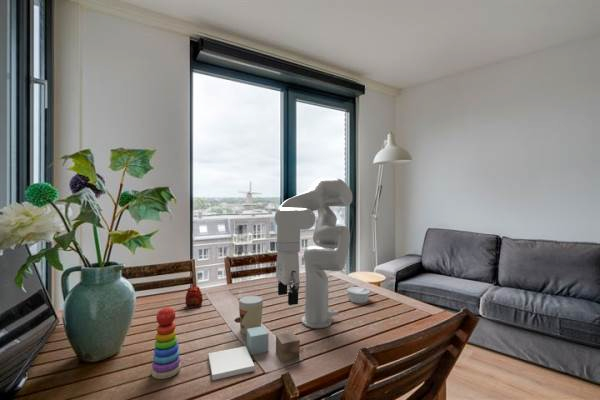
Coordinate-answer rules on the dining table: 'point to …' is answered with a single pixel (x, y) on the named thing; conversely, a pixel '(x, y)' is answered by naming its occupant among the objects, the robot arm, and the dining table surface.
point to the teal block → (257, 340)
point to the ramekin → (358, 294)
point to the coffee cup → (250, 312)
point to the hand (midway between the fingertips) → (287, 299)
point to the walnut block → (287, 346)
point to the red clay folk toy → (193, 296)
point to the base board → (230, 362)
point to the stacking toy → (166, 346)
